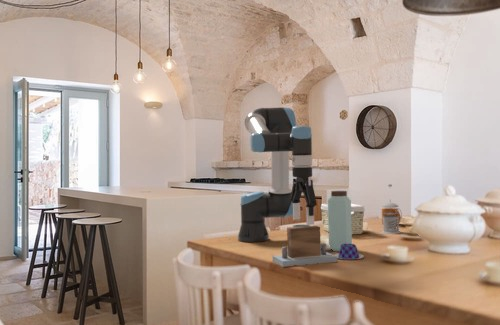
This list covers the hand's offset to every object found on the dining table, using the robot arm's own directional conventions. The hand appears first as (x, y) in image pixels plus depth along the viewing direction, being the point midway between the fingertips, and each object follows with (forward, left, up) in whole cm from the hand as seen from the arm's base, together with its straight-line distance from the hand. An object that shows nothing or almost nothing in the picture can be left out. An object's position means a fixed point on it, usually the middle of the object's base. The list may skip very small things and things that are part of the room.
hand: (303, 221), depth 182 cm
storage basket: (-58, +46, -15) cm, 76 cm away
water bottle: (-15, +23, -15) cm, 31 cm away
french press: (-47, +69, -15) cm, 85 cm away
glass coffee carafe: (-71, +84, -15) cm, 111 cm away
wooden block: (0, 0, -13) cm, 13 cm away
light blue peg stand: (0, 0, -15) cm, 15 cm away
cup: (-24, +9, -15) cm, 30 cm away
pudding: (0, +19, -16) cm, 24 cm away
